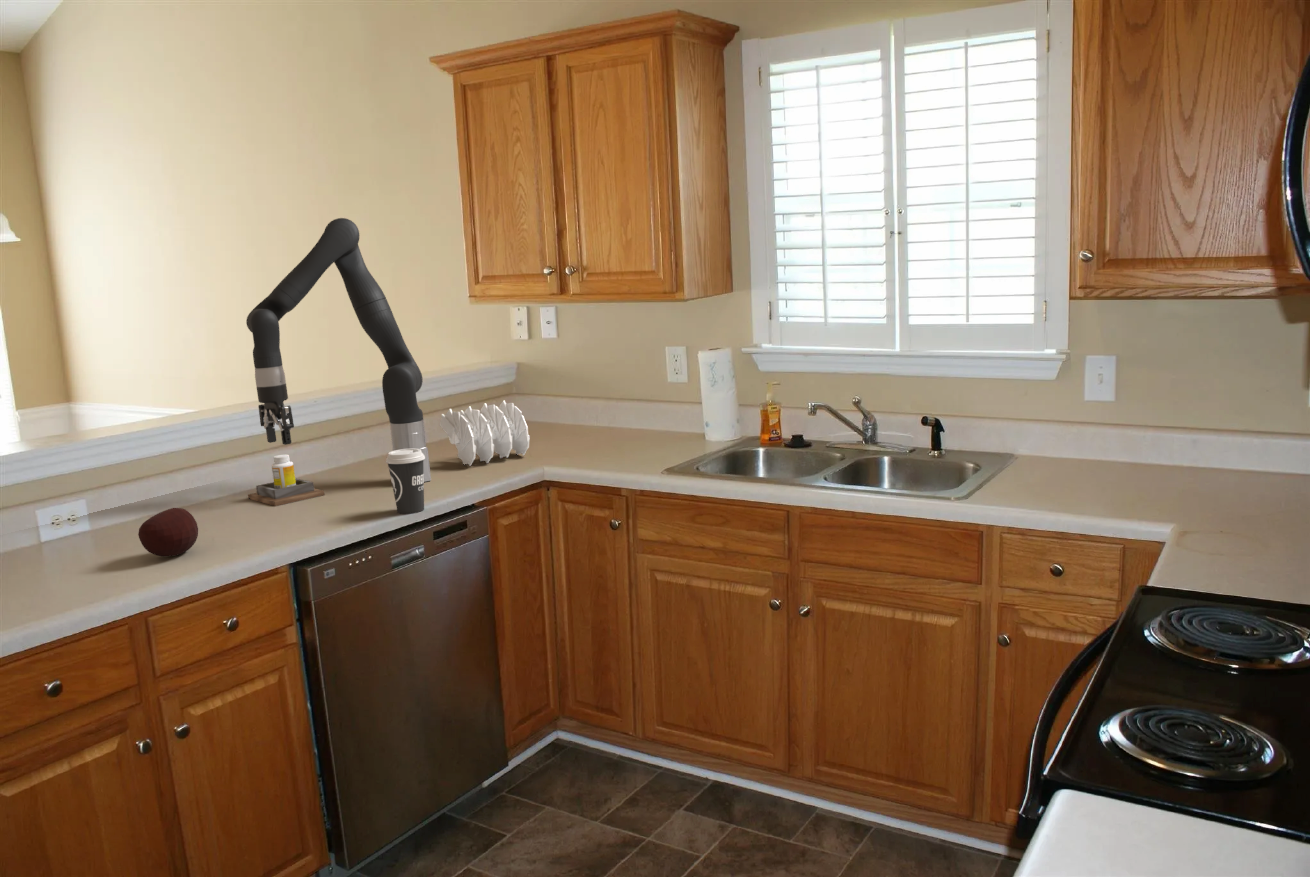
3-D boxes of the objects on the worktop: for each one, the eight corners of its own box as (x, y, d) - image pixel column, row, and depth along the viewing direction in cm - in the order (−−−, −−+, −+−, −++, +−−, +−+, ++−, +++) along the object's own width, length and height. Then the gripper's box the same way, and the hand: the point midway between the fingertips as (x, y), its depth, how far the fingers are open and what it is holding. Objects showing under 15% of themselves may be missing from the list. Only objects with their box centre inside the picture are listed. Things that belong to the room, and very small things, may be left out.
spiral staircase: (533, 468, 320) (461, 479, 305) (506, 438, 332) (434, 447, 316) (545, 417, 312) (471, 426, 297) (516, 389, 323) (444, 395, 308)
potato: (130, 563, 226) (122, 517, 224) (177, 546, 238) (170, 502, 236) (169, 566, 222) (162, 519, 220) (215, 548, 234) (208, 503, 232)
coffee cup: (410, 516, 252) (404, 456, 249) (383, 513, 257) (376, 454, 254) (438, 507, 259) (432, 448, 257) (410, 504, 265) (404, 447, 262)
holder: (324, 494, 282) (322, 482, 282) (275, 506, 272) (273, 492, 272) (296, 488, 293) (294, 475, 293) (248, 498, 284) (246, 485, 283)
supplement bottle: (299, 489, 286) (294, 453, 284) (294, 493, 280) (289, 456, 278) (278, 491, 285) (273, 454, 283) (273, 495, 280) (268, 458, 278)
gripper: (297, 382, 275) (305, 442, 278) (271, 381, 285) (280, 438, 287) (270, 386, 269) (279, 447, 272) (245, 384, 279) (254, 443, 282)
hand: (279, 443), depth 280 cm, fingers open, 8 cm apart
